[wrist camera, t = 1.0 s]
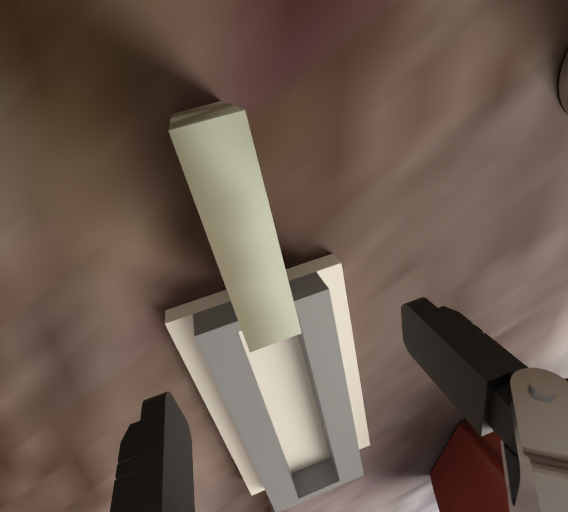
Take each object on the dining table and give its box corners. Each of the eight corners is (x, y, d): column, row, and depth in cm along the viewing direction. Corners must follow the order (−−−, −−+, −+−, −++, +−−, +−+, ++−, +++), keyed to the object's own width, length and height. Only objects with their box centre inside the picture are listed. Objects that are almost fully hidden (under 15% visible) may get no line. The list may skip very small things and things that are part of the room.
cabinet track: (332, 253, 33) (356, 279, 28) (362, 431, 46) (382, 467, 42) (165, 310, 31) (163, 347, 26) (248, 479, 44) (256, 522, 40)
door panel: (221, 100, 25) (244, 110, 16) (267, 264, 31) (301, 333, 23) (171, 113, 24) (168, 130, 16) (229, 277, 31) (249, 352, 22)
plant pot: (452, 403, 49) (567, 537, 35) (543, 398, 56) (673, 509, 41) (403, 490, 56) (482, 631, 42) (489, 476, 63) (583, 595, 48)
